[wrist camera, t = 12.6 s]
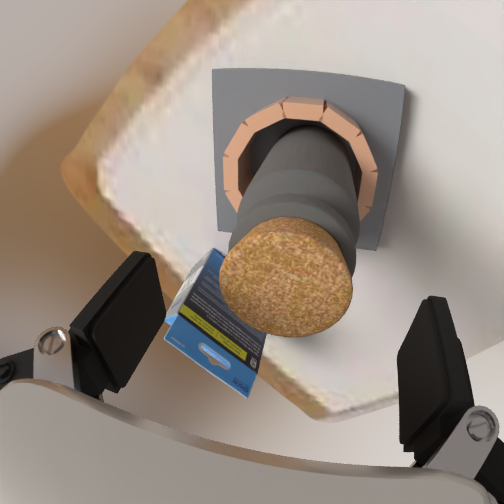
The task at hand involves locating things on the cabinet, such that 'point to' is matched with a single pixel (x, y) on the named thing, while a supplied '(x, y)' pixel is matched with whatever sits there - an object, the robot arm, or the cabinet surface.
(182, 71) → the cabinet surface
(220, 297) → the label tape box
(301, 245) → the bottle
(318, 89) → the holder
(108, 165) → the cabinet surface
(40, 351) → the robot arm
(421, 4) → the cabinet surface
